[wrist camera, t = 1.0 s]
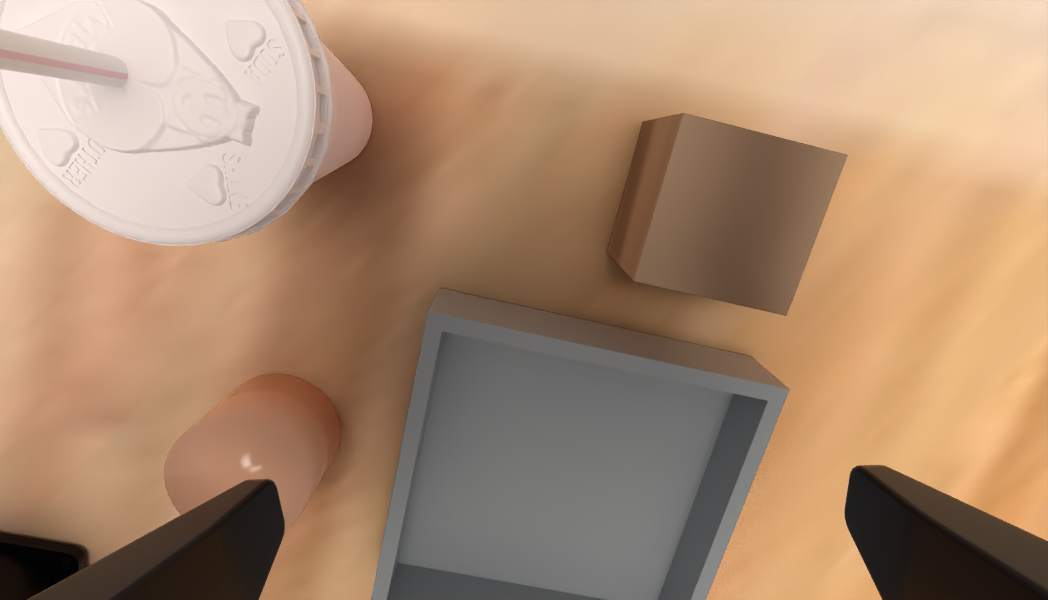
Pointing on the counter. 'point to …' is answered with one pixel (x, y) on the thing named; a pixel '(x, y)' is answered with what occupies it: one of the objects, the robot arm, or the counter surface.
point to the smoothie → (176, 111)
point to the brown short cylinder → (257, 444)
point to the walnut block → (722, 211)
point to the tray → (568, 459)
